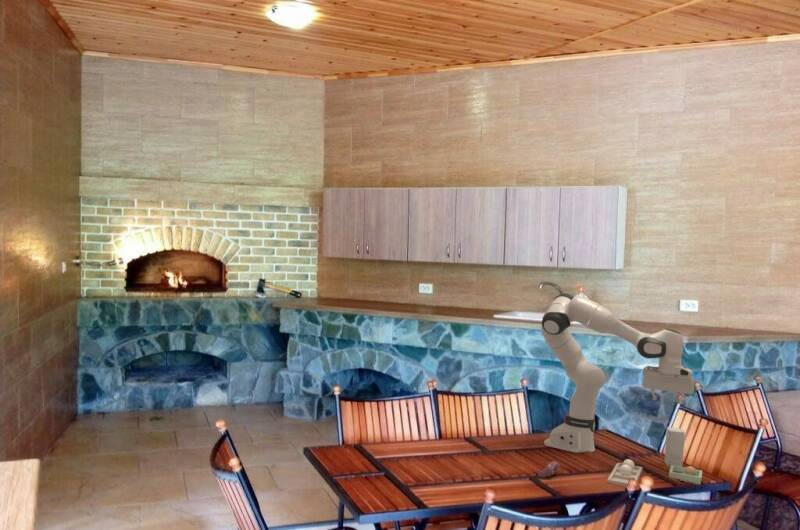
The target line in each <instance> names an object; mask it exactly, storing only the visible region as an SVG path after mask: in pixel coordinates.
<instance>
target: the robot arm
mask: <svg viewBox="0 0 800 530" xmlns="http://www.w3.org/2000/svg"><path fill="white" fill-rule="evenodd" d="M572 322H573V323H574V322H575V323H579V324H580V325H582V326H584V327H586V328H588V329H589V330H592V331H594V332H597V333H600V334H609V335H613V336H617V337H619V338H620V339H623V340H625V341H627V342H628V343H629V344H632V345H633V346H634V347H635V348H636V349H637V352H638V353H639V355H640V356H641V357H643V358H645V359H649V360H650V359H658V366H651V365H647V366H644V367H643V368H642V375H643V378H642V384H641V385H642V387H643V388H644V389H650V393H651V396H652V401H657V399H658V395H656V394H655V391H656V390H658V391H664V392H671V393H679V394H680V398H677V399H676V405H677V404H678V405H681V404H682V399H683V398H684V397H685V395H693V394H694V392H695V381H694V377H693V376H692V375H693V370H692V369H690V368H687V367H685V366H683V365H682V363H683V362H682V355H683V352H684V336H683V335H682V333H681V332H680V331H677V330H675V329H671V328H664V329H662V330H660V331H658V332H655V333H653V332H648V331H647V332H645V331H641V330H638V329H637V328H634V327H633V326H630V325H629V324H626V323H625V322H624V321H621V320H620V319H619V318H618V317H617V316H616V315H615V314H614V313H612V312H611V310H609V309H608V308H606V307H605V306H603V305H601V304H599V303H597V302H595V301H594V300H592V299H589V298H587V297H582V296H581V295H577V296H574V297H573V295H572V294H569V293H559V294H558V295H557V296H556V297H554V298H553V300H552V302H550V304H549V305H548V306H547V309H546V311H545V314H543V317H542V319H541V327H540V330H541V334H542V337H543V338H544V341H545V342H546V343H547V345H548V347H549V348H550V349H551V351H552V352H553V353H554V355H555V357H557V359H558V361H559V362H560V363H561V366H562V367H563V370H565V373H566V376H567V377H568V378H569V380H570V381H571V382H573V383H574V384H576V386H575V387H576V388H575V391H574V393H573V395H572V396H571V397H570V400H569V401H570V402H569V411H568V413H566V414H565V415H564V418H563V423H561V424H559V425H558V426H556V427H554V428H553V429H552V430H551V432H550V435H549V438H546V439H545V440H544V441H543V445H544V446H545V447H546V446H547V447H549V448H555V449H559V450H562V451H567V452H571V453H578V454H579V453H587V452H590V453H593V452H595V451H596V449H595V441H594V440H595V439H594V432H595V429H596V428H595V427H596V419H595V414H596V413H595V412H596V403H597V399H598V396H599V393H600V390H601V389H602V388H603V386H604V385H605V383H606V379H607V378H606V374H605V372H604V371H603V370H602V369H601V367H599V366H598V365H596V364H593V363H591V362H589V361H588V360H587V359H586V358H585V356H584V353H583V351H582V347H581V346H580V344H579V343H578V341H577V340H576V339H575V337H574V336H573V335H572V333H571V332H570V331H569V330H568V328H569V327H570V326H571V323H572Z"/></svg>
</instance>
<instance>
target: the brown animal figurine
mask: <svg viewBox="0 0 800 530" xmlns="http://www.w3.org/2000/svg"><path fill="white" fill-rule="evenodd" d="M559 468H560V463H559V462H556V461H555V460H554V461H550V462H549V463H548V465H547V466H546V467H545V468H544V469H542V470H539V472H538V473H537V476H538V477H539V478H546V477H547V478H550V477H551V476H554V475H555V472H556V471H557V470H558V469H559Z"/></svg>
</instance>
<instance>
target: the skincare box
mask: <svg viewBox="0 0 800 530" xmlns="http://www.w3.org/2000/svg"><path fill="white" fill-rule="evenodd" d="M665 432H666V433H665V434H666V435H665V446H664V447H665V449H664V462H663V463H664V464H665V465H666V466H667V467H671V465H674V466H680V467H683V461H684V450H685V449H684V447H685V434H686V433H685V432H686V431H684V430H683V429H682V428H680V427H670V426H669V427H668V426H667V427H666V431H665Z"/></svg>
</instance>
